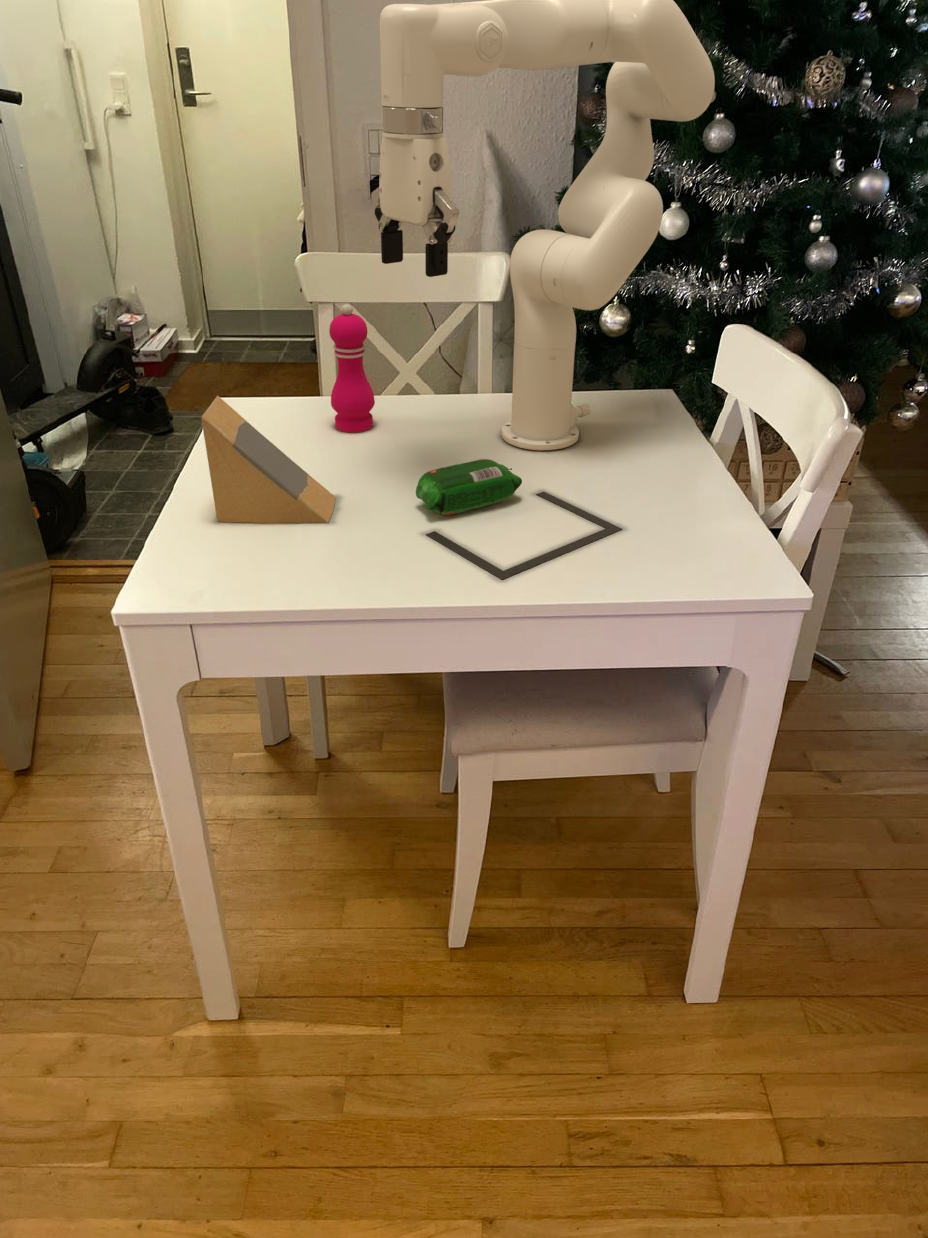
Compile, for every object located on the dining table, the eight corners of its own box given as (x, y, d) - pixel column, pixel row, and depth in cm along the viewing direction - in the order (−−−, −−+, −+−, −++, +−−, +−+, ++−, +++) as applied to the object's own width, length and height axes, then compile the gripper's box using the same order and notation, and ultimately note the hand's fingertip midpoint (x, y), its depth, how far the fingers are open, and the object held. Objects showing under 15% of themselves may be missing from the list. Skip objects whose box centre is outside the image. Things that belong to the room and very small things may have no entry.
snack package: (530, 501, 134) (531, 467, 131) (430, 524, 127) (430, 488, 125) (504, 483, 139) (505, 450, 136) (408, 504, 133) (407, 469, 130)
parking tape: (543, 491, 136) (543, 491, 136) (622, 529, 126) (622, 528, 126) (425, 534, 125) (425, 534, 125) (502, 579, 115) (502, 579, 115)
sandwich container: (329, 523, 127) (321, 417, 119) (216, 522, 127) (200, 416, 119) (337, 496, 135) (329, 394, 127) (230, 495, 135) (215, 393, 127)
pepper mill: (338, 417, 161) (330, 297, 151) (380, 419, 161) (374, 299, 150) (327, 432, 155) (318, 308, 145) (370, 435, 155) (364, 310, 144)
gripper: (481, 127, 112) (477, 277, 122) (396, 117, 124) (398, 254, 133) (431, 130, 108) (431, 284, 117) (348, 119, 120) (353, 260, 129)
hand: (413, 268), depth 125 cm, fingers open, 9 cm apart
